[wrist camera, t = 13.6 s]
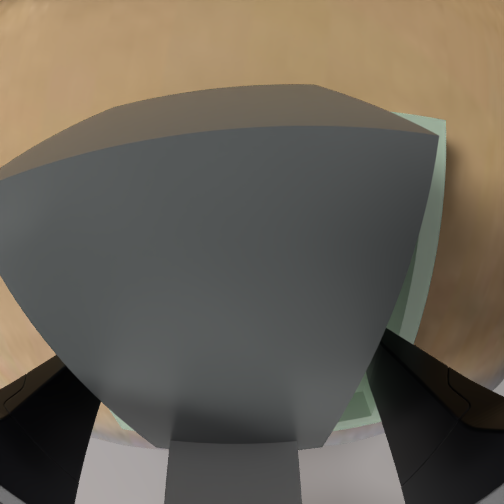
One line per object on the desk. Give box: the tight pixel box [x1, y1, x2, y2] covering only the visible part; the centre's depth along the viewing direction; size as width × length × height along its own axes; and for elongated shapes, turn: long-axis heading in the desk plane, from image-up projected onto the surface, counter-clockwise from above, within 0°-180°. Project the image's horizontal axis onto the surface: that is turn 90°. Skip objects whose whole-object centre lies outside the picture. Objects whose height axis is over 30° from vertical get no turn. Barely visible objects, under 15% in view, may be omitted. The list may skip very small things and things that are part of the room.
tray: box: [109, 112, 446, 431], centre depth 12 cm, size 16×16×3 cm
